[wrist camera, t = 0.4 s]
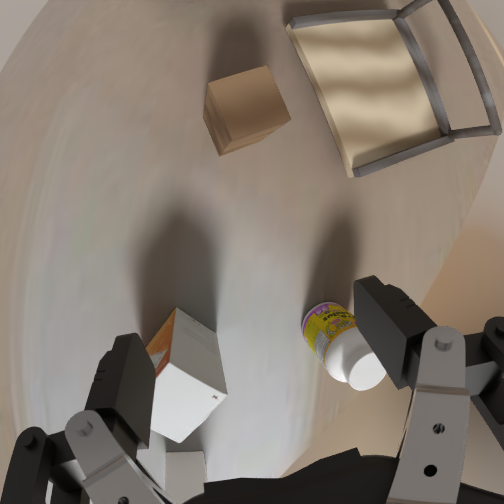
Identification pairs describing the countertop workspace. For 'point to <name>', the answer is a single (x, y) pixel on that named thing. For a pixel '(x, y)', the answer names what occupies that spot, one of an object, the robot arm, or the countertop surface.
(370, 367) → the supplement bottle
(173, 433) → the small box
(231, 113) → the walnut block
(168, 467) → the milk
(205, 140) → the countertop surface
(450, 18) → the cart
